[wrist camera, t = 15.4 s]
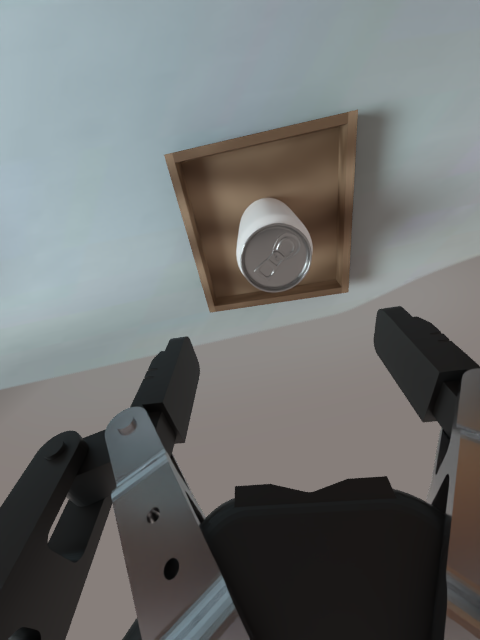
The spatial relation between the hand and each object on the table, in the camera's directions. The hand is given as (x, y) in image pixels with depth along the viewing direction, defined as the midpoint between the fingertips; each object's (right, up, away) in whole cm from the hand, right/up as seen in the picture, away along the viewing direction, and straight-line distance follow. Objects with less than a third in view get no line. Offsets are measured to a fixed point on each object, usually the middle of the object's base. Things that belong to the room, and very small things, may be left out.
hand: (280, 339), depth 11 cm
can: (+1, +12, +19) cm, 23 cm away
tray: (+2, +12, +20) cm, 23 cm away
